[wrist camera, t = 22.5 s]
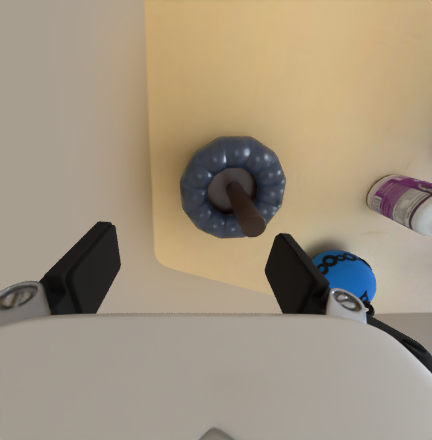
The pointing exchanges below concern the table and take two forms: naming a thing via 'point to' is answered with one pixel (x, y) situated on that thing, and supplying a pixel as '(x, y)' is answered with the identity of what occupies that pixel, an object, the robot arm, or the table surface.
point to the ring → (217, 162)
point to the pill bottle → (404, 202)
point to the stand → (237, 199)
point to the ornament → (348, 275)
